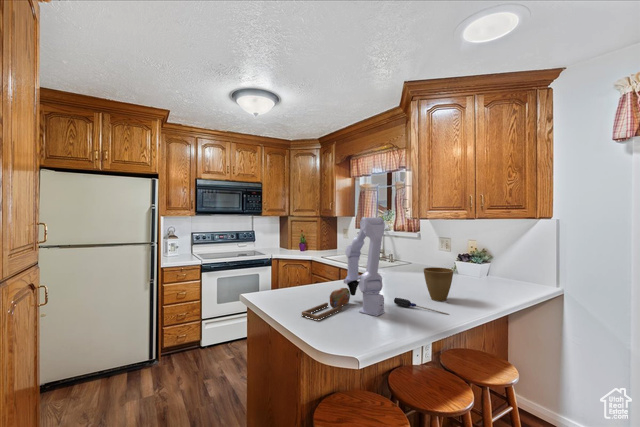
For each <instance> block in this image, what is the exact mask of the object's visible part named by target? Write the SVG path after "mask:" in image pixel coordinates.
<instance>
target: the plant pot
mask: <svg viewBox="0 0 640 427" xmlns="http://www.w3.org/2000/svg"><path fill="white" fill-rule="evenodd" d="M423 275H424V280H425V285H426V289H427V291H428V294H429V297H430V299H431V300H432V301H435V302H445V301H447V299H448V296H449V293H450V291H451V286H452V282H453V277H454V270H453V269H452V268H446V267H435V266H434V267H425V268H423Z"/></svg>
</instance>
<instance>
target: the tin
mask: <svg viewBox="0 0 640 427" xmlns="http://www.w3.org/2000/svg"><path fill="white" fill-rule="evenodd" d="M350 297H351V294H350V290H349V288H348V287H340V288H337V289H335V290H333V291H332V292H331V293H330V295H329V305H330V307H331V309H333V308H336V307H338V306H342V305H345V304H347V305H348V304H349V303H350V299H351V298H350ZM345 306H346V305H345Z"/></svg>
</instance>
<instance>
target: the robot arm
mask: <svg viewBox="0 0 640 427" xmlns="http://www.w3.org/2000/svg"><path fill="white" fill-rule="evenodd" d="M359 227H360V229H359V231H358V234H357V236H355V237H354V238H353V239H352V241H351V243H350V245H347V246H346V248H345V256H346V258H347V276H345V279H343V284H345V285H347V288H348V290H349V292H350V296H355V295H356V292H357V289H358V288H359V290H360V292H361V293H362V308H361V309H360V310H359V311H358V312H359V313H363V314H365V315H366V314H367V315H370V316H375V317H378V316H380V315H381V314H383V313H385V296H384V295H383V294H380V293H381V291H382V290H383V287H384V285H383V284H384V283H383V277H382V275H381V274H380V273H379V272H378V271H379V264H380V256H381V249H382V248H381V247H382V241H383V237H384V234H385V228H386V223H385V221H384V219H383V217H382V216H378V217H377V216H376V217H373V216H371V217H369V216H367V217H366V216H362V217H361V219H360V221H359ZM366 237H367V238H368V239H369V244H368V253H367V254H368V255H367V262H366V268H365V269H366V270H365V272H363V273H362V274H361V275H359V261H360V257H361V254H362V253H361V250H362V248H363V246H364V245H365V239H366Z"/></svg>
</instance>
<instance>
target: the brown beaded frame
mask: <svg viewBox="0 0 640 427" xmlns="http://www.w3.org/2000/svg"><path fill="white" fill-rule="evenodd" d="M327 306H328V307H329V302H324V303H322V304H319V305H316V306H313V307H311V308H308V309H306V310H303V311H301V316H302V315H303V316H307V317H310V318H313V319H317V320H318V319H321V318H323V317H326V316H328V315H330V314H332V315H334V314H333V313H335V312H337V311H339V312H341V311H342V310H343V308H342V306H338V307H336V308H331V309H329V310H326V311H324V312H321V313H319V314H314V313H315V312H314V311H316V310H319V309H322V308H324V307H327ZM328 307H327V308H328ZM324 309H325V308H324ZM322 310H323V309H322ZM340 310H341V311H340ZM319 311H320V310H319ZM311 312H314V313H312V314H311ZM337 313H338V312H337ZM335 314H336V313H335ZM330 316H331V315H330ZM328 317H329V316H328ZM326 318H327V317H326ZM323 319H324V318H323ZM321 320H322V319H321Z"/></svg>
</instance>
